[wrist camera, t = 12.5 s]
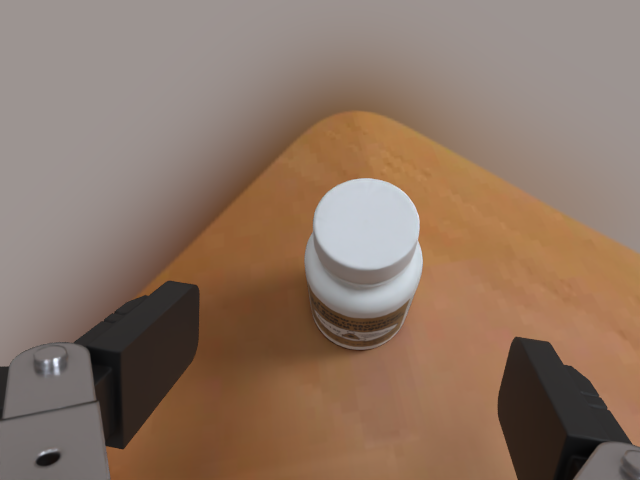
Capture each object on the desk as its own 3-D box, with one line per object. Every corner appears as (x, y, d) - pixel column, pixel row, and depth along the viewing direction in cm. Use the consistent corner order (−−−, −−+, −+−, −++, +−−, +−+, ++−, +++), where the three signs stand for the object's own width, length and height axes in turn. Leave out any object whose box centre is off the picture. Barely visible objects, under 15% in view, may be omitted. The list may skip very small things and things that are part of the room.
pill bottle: (305, 346, 21) (287, 276, 14) (318, 258, 23) (308, 160, 16) (404, 358, 21) (434, 292, 14) (408, 267, 23) (437, 171, 16)
